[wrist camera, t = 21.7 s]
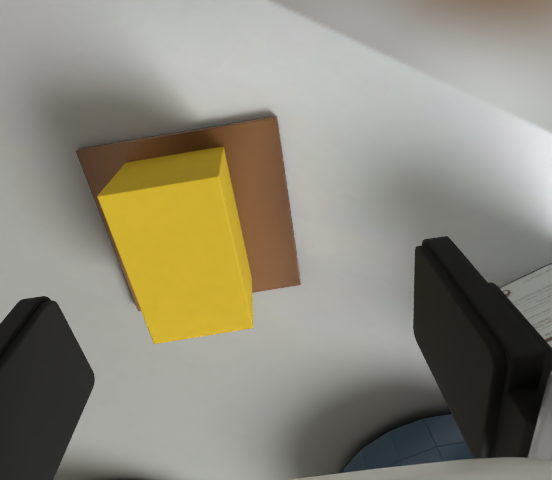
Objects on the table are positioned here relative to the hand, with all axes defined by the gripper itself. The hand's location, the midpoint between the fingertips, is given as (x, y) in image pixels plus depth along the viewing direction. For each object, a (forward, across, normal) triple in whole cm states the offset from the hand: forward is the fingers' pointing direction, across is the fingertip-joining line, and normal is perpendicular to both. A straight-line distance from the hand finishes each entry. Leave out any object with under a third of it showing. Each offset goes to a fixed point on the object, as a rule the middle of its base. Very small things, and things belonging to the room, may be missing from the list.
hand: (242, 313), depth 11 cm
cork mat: (+12, +3, +3) cm, 13 cm away
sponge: (+12, +4, +3) cm, 12 cm away
